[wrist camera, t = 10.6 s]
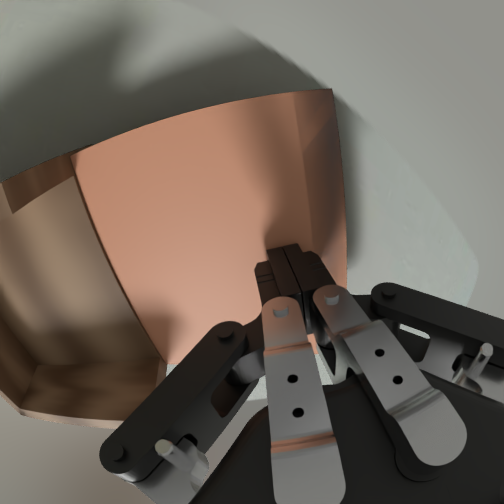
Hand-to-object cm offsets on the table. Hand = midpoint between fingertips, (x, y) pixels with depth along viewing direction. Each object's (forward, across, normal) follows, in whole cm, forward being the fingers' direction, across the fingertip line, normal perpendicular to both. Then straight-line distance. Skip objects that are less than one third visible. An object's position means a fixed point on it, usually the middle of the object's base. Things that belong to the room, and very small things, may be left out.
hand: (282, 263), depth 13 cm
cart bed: (+4, +16, 0) cm, 16 cm away
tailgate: (+1, +9, 0) cm, 9 cm away
